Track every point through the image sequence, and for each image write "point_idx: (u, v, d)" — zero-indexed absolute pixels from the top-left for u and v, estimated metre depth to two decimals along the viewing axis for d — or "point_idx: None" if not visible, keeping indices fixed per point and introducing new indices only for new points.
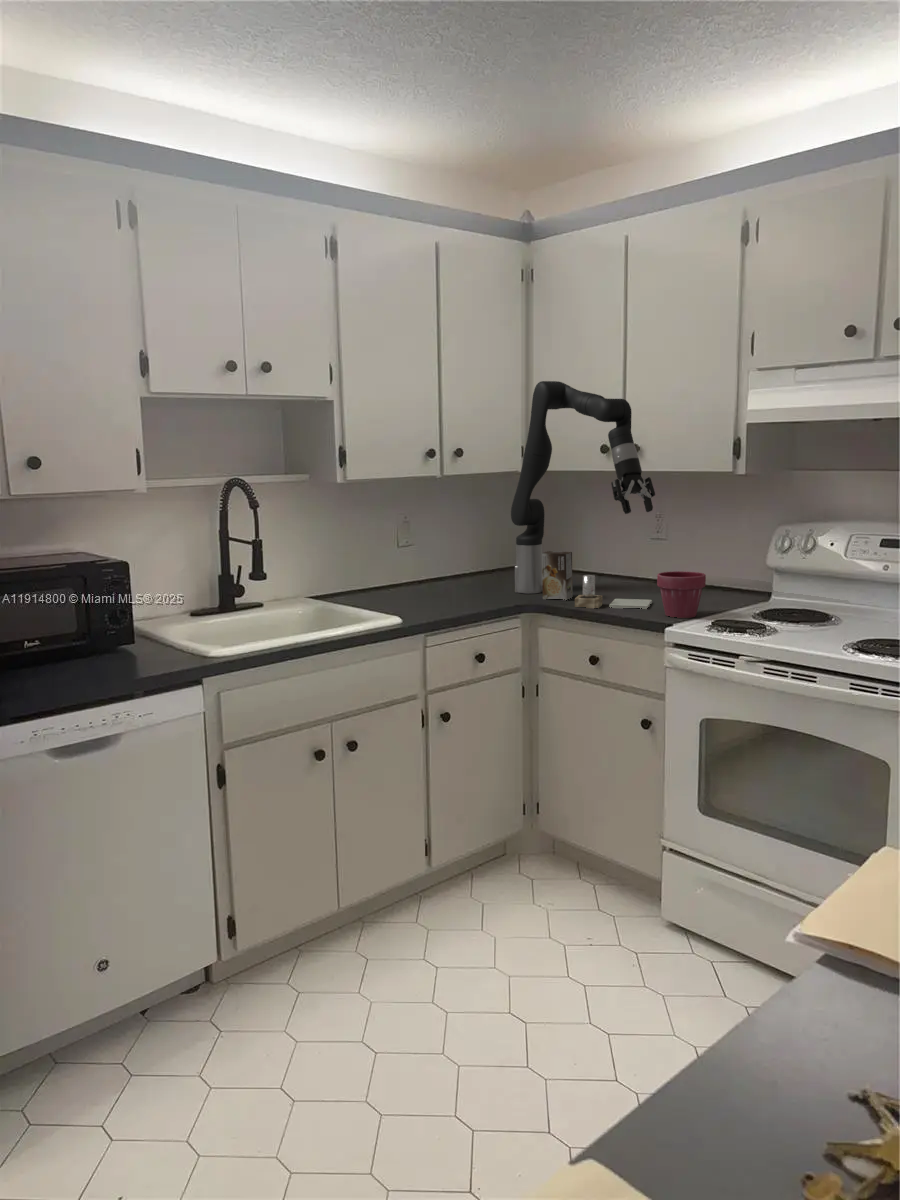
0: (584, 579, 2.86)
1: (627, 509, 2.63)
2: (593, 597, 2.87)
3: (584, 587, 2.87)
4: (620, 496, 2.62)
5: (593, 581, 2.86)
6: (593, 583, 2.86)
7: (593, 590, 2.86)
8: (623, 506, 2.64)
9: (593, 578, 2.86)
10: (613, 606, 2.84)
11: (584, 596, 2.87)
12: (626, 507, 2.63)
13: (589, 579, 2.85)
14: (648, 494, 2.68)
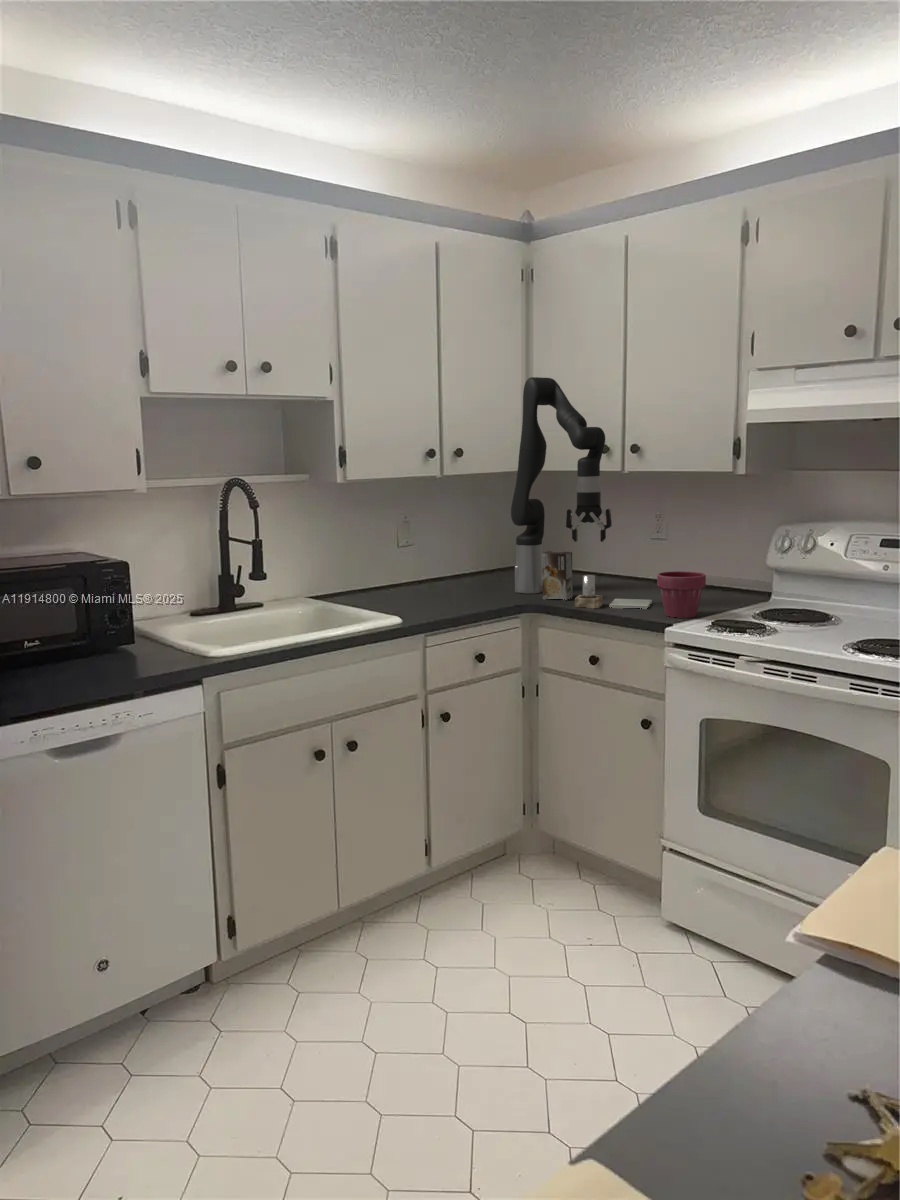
0: (584, 579, 2.86)
1: (573, 538, 2.86)
2: (593, 597, 2.87)
3: (584, 587, 2.87)
4: (567, 526, 2.86)
5: (593, 581, 2.86)
6: (593, 583, 2.86)
7: (593, 590, 2.86)
8: None
9: (593, 578, 2.86)
10: (613, 606, 2.84)
11: (584, 596, 2.87)
12: (573, 536, 2.86)
13: (589, 579, 2.85)
14: (601, 526, 2.82)
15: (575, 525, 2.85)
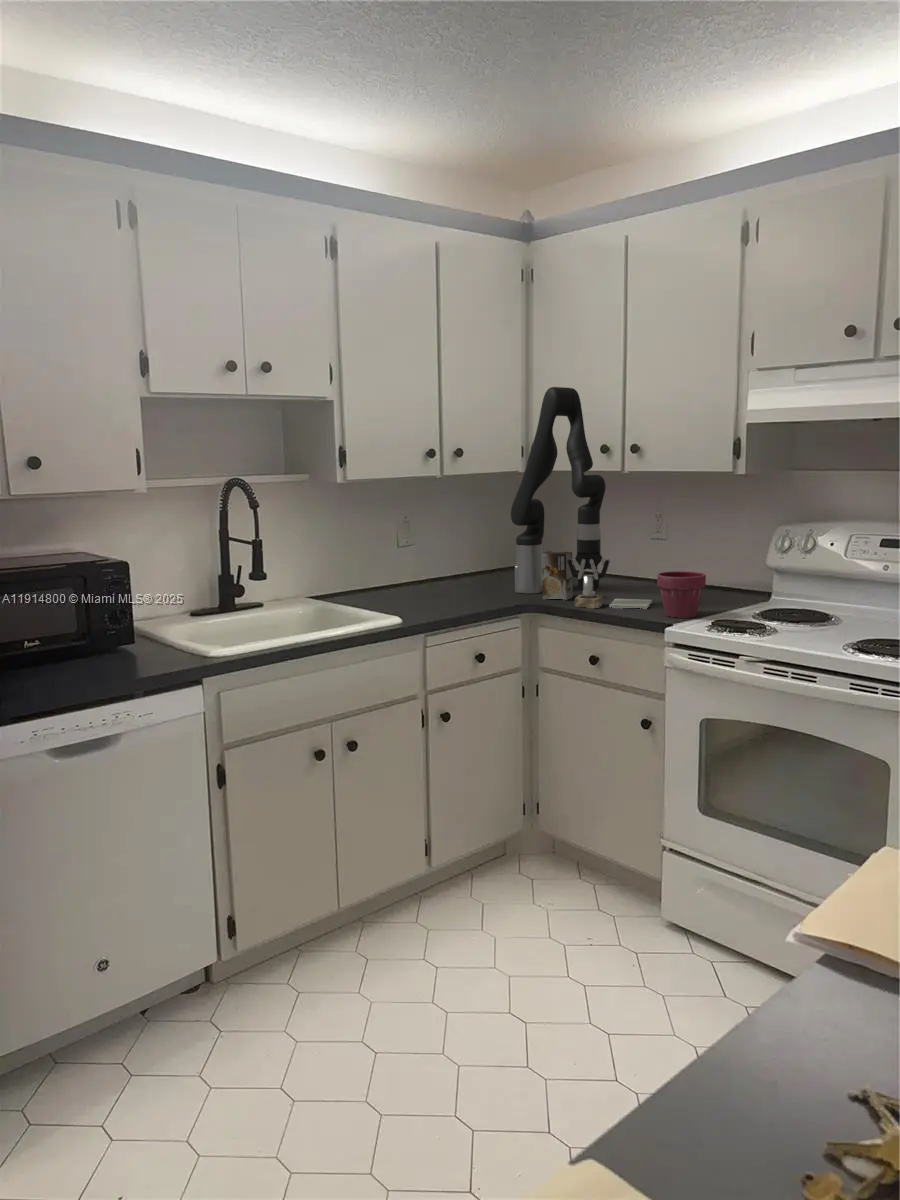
0: (584, 579, 2.86)
1: (579, 587, 2.88)
2: (593, 597, 2.87)
3: (584, 587, 2.87)
4: (573, 575, 2.88)
5: (593, 581, 2.86)
6: (593, 583, 2.86)
7: (593, 590, 2.86)
8: None
9: (593, 578, 2.86)
10: (613, 606, 2.84)
11: (584, 596, 2.87)
12: (579, 585, 2.88)
13: (589, 579, 2.85)
14: (595, 576, 2.85)
15: (580, 574, 2.87)
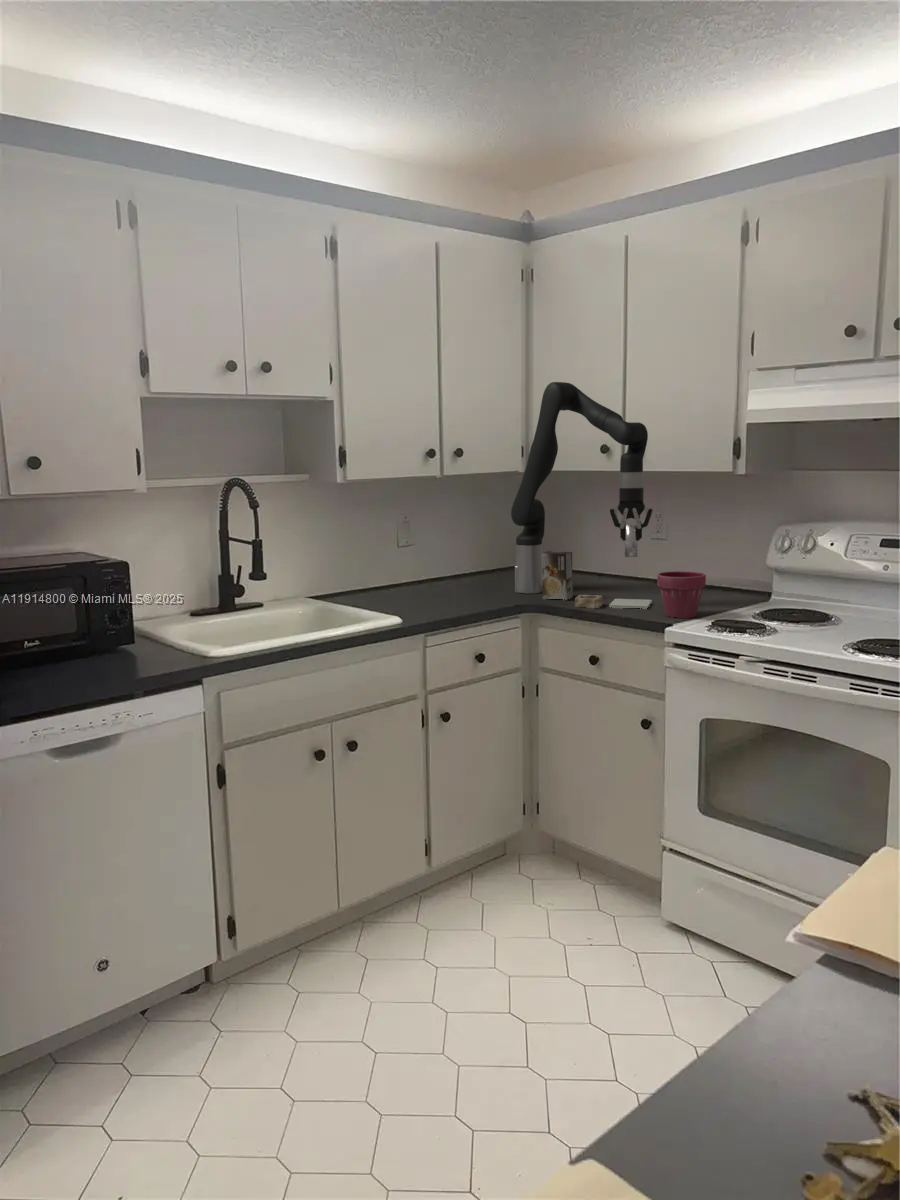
0: (627, 528, 2.83)
1: (621, 537, 2.85)
2: (636, 547, 2.83)
3: (627, 537, 2.83)
4: (615, 525, 2.84)
5: (636, 530, 2.82)
6: (636, 532, 2.83)
7: (636, 540, 2.83)
8: None
9: (636, 527, 2.82)
10: (613, 606, 2.84)
11: (626, 546, 2.84)
12: (621, 535, 2.85)
13: (632, 528, 2.82)
14: (638, 525, 2.82)
15: (622, 523, 2.83)
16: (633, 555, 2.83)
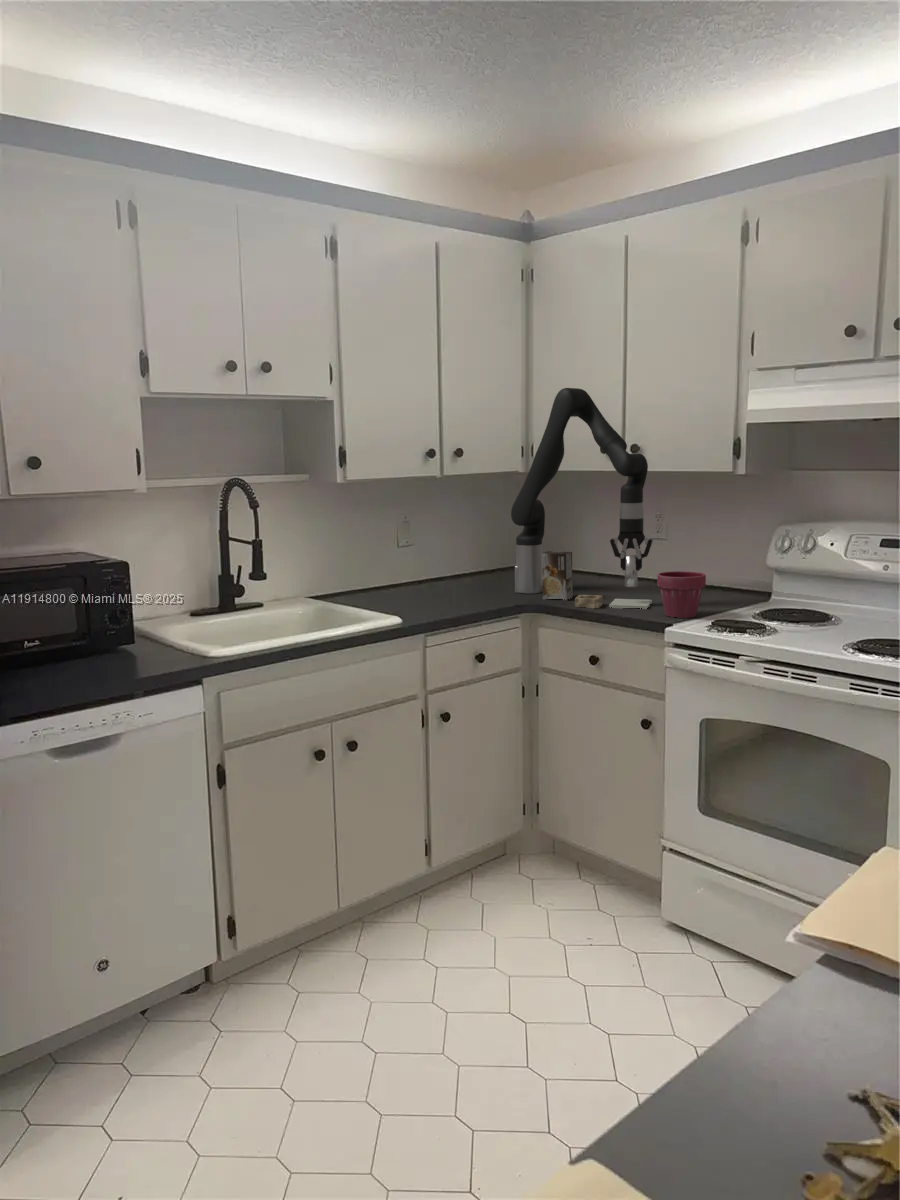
0: (627, 558, 2.84)
1: (621, 567, 2.86)
2: (636, 577, 2.85)
3: (627, 567, 2.85)
4: (615, 555, 2.86)
5: (636, 560, 2.84)
6: (636, 562, 2.84)
7: (636, 570, 2.85)
8: None
9: (636, 557, 2.84)
10: (613, 606, 2.84)
11: (627, 576, 2.85)
12: (621, 565, 2.86)
13: (632, 558, 2.84)
14: (638, 555, 2.83)
15: (623, 553, 2.85)
16: (633, 585, 2.85)
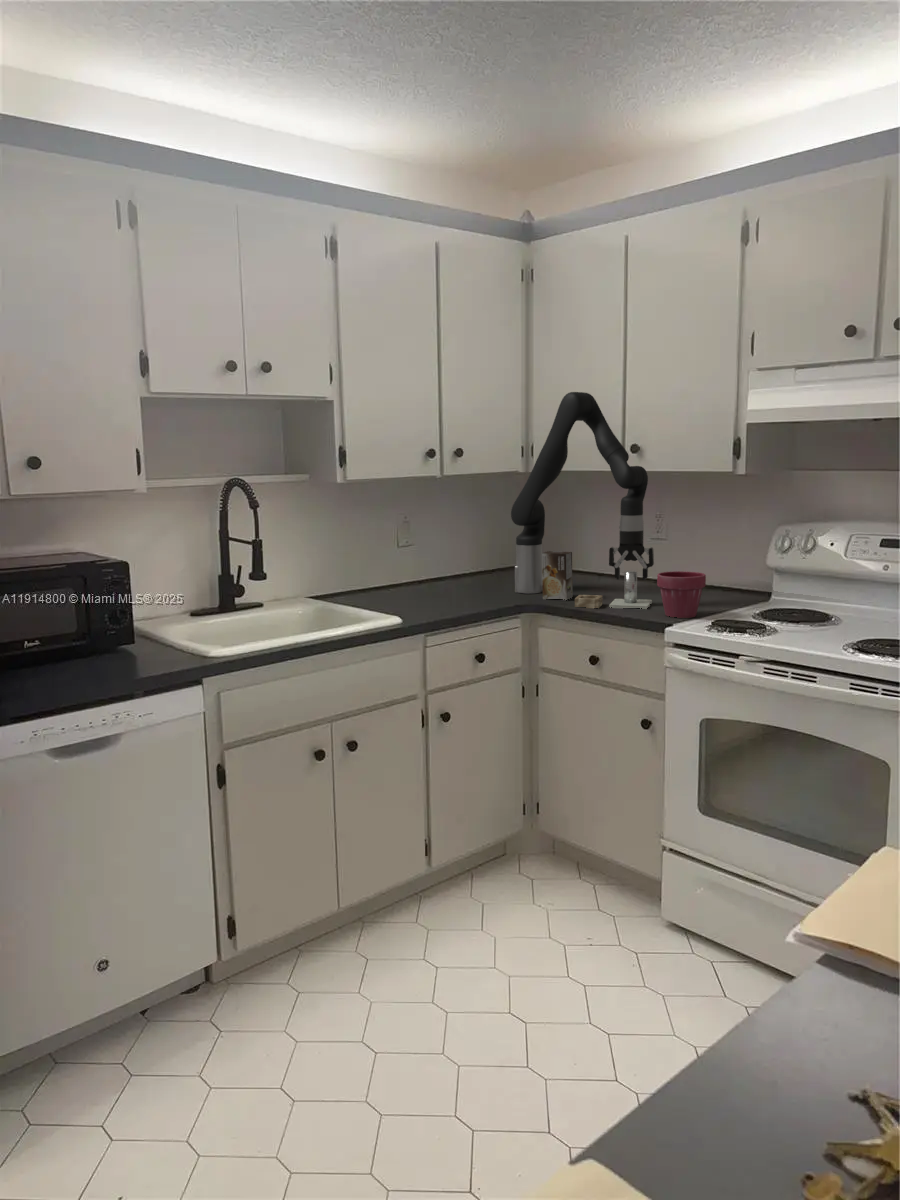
0: (626, 575, 2.85)
1: (616, 576, 2.87)
2: (635, 593, 2.86)
3: (626, 583, 2.86)
4: (610, 564, 2.87)
5: (635, 577, 2.85)
6: (635, 579, 2.85)
7: (635, 586, 2.86)
8: (615, 572, 2.88)
9: (635, 574, 2.85)
10: (613, 606, 2.84)
11: (626, 592, 2.86)
12: (615, 574, 2.87)
13: (631, 575, 2.85)
14: (643, 565, 2.83)
15: (618, 563, 2.86)
16: (632, 601, 2.86)
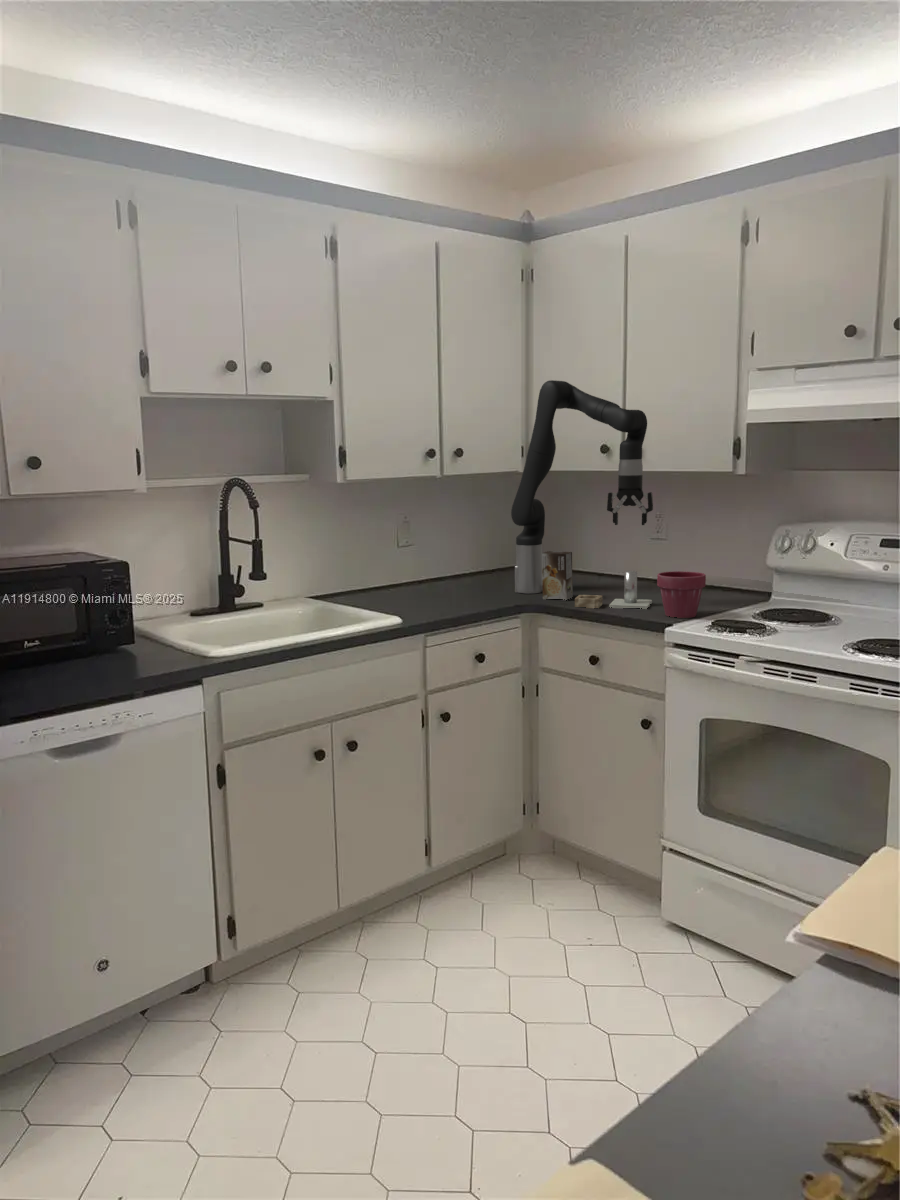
0: (626, 575, 2.85)
1: (614, 522, 2.85)
2: (635, 593, 2.86)
3: (626, 583, 2.86)
4: (608, 509, 2.85)
5: (635, 577, 2.85)
6: (635, 579, 2.85)
7: (635, 586, 2.86)
8: (613, 517, 2.86)
9: (635, 574, 2.85)
10: (613, 606, 2.84)
11: (626, 592, 2.86)
12: (613, 520, 2.85)
13: (631, 575, 2.85)
14: (643, 509, 2.81)
15: (616, 508, 2.84)
16: (632, 601, 2.86)
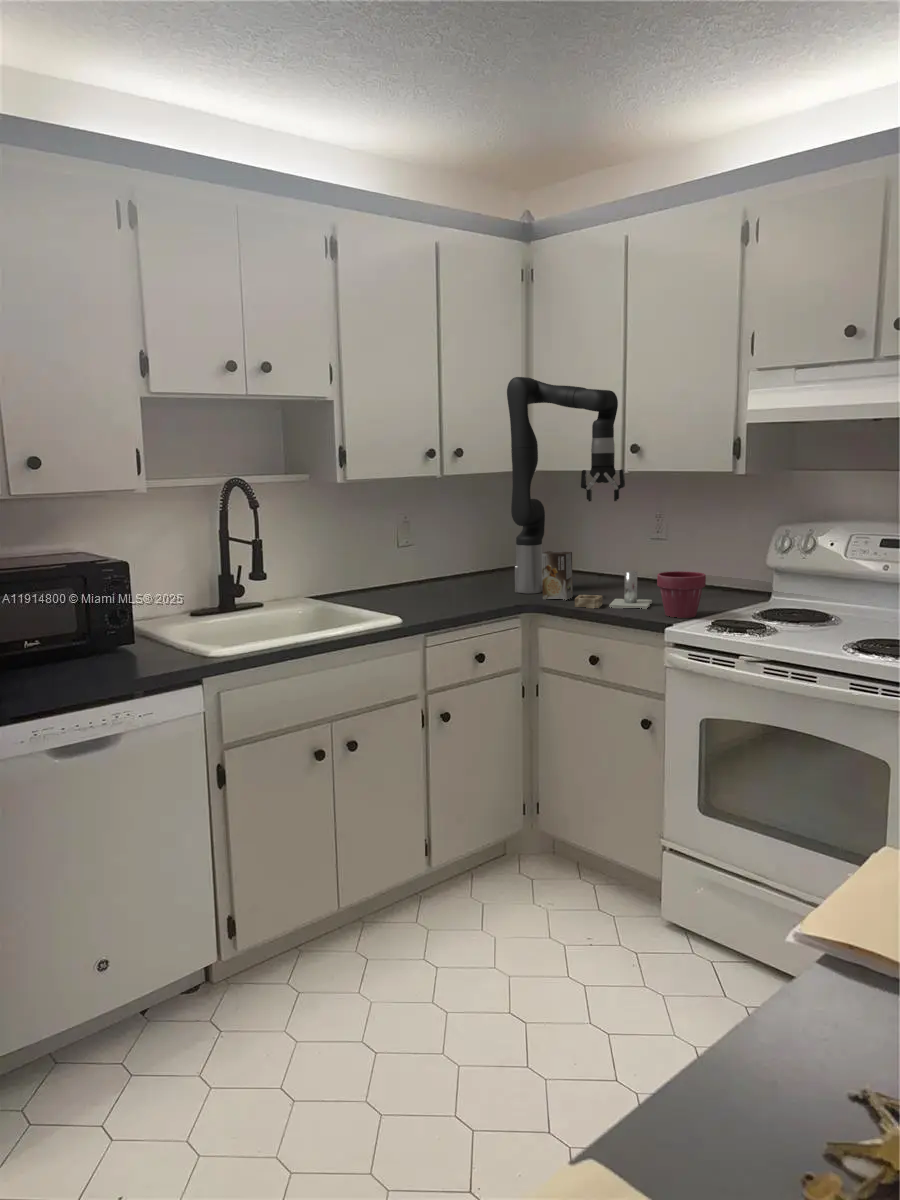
0: (626, 575, 2.85)
1: (587, 498, 2.96)
2: (635, 593, 2.86)
3: (626, 583, 2.86)
4: (582, 486, 2.96)
5: (635, 577, 2.85)
6: (635, 579, 2.85)
7: (635, 586, 2.86)
8: (587, 494, 2.97)
9: (635, 574, 2.85)
10: (613, 606, 2.84)
11: (626, 592, 2.86)
12: (587, 496, 2.96)
13: (632, 575, 2.85)
14: (615, 486, 2.92)
15: (589, 485, 2.95)
16: (632, 601, 2.86)
